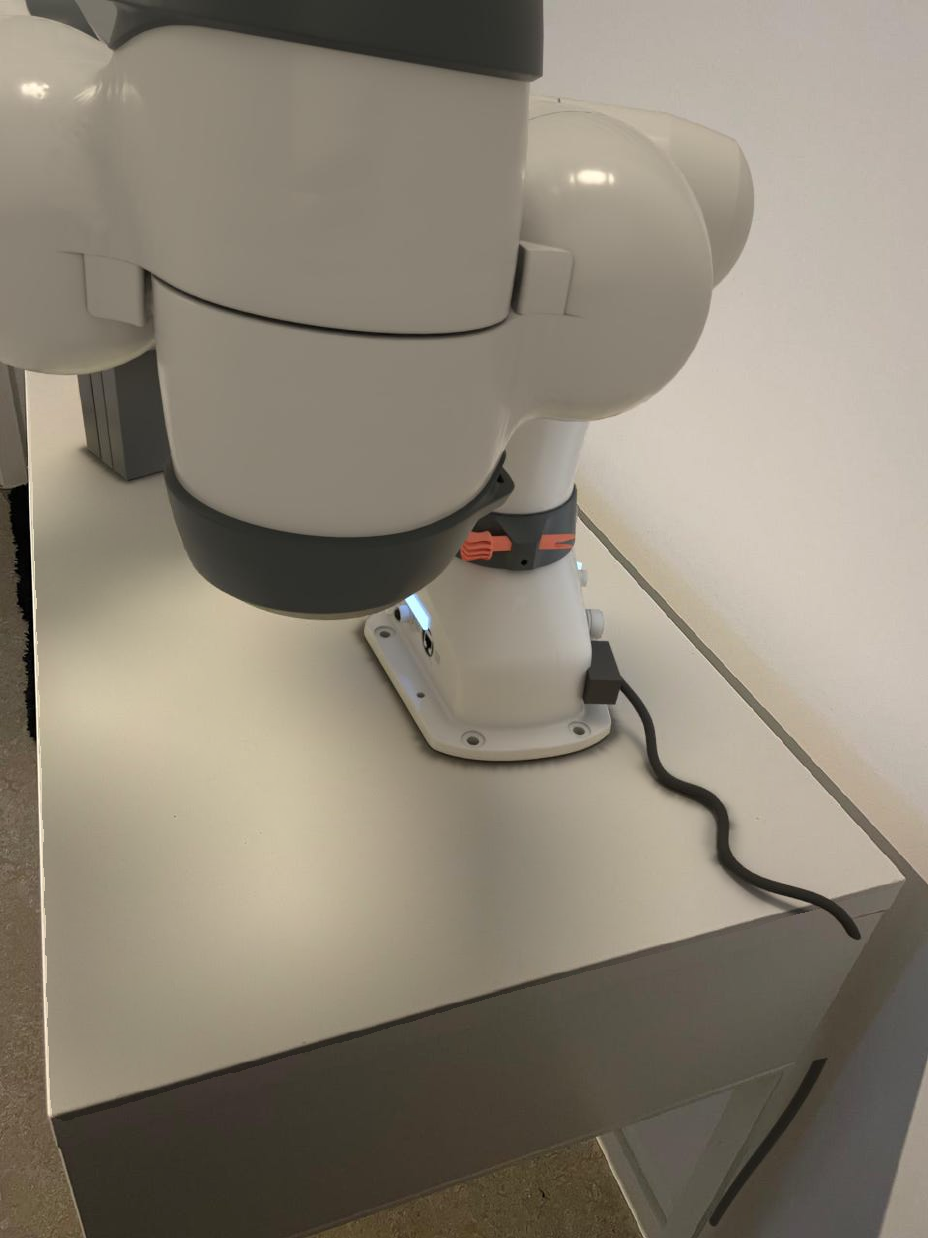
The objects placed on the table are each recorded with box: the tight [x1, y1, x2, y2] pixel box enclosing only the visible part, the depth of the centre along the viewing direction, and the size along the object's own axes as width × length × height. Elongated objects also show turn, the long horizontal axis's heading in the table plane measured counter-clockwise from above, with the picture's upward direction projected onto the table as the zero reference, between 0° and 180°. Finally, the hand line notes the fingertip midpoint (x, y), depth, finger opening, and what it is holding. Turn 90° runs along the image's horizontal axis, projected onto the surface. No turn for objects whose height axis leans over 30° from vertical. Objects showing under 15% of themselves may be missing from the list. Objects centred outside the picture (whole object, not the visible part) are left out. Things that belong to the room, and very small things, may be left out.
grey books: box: [76, 345, 171, 481], centre depth 90 cm, size 8×10×13 cm
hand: (224, 275), depth 78 cm, fingers closed on navy book, 3 cm apart
